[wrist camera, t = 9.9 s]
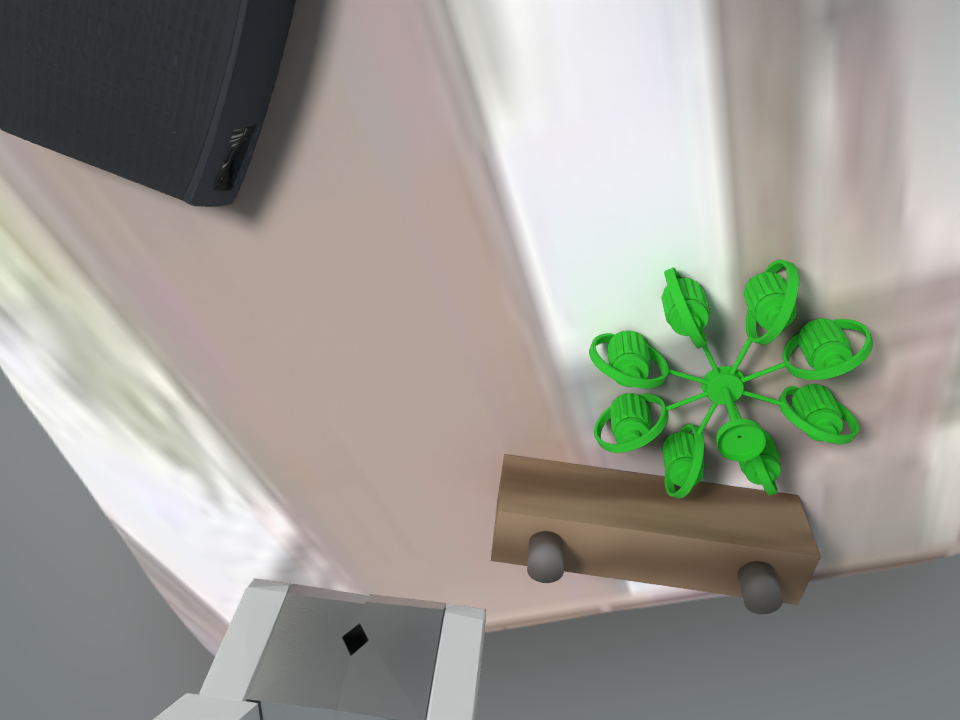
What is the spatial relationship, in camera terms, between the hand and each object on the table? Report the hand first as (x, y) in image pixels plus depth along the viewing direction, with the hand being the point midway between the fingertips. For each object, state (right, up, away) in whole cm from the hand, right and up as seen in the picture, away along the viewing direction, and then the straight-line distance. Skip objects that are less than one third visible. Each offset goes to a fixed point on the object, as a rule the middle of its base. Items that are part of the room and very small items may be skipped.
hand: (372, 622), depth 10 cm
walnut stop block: (+12, -5, +38) cm, 40 cm away
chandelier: (+15, +3, +33) cm, 36 cm away
